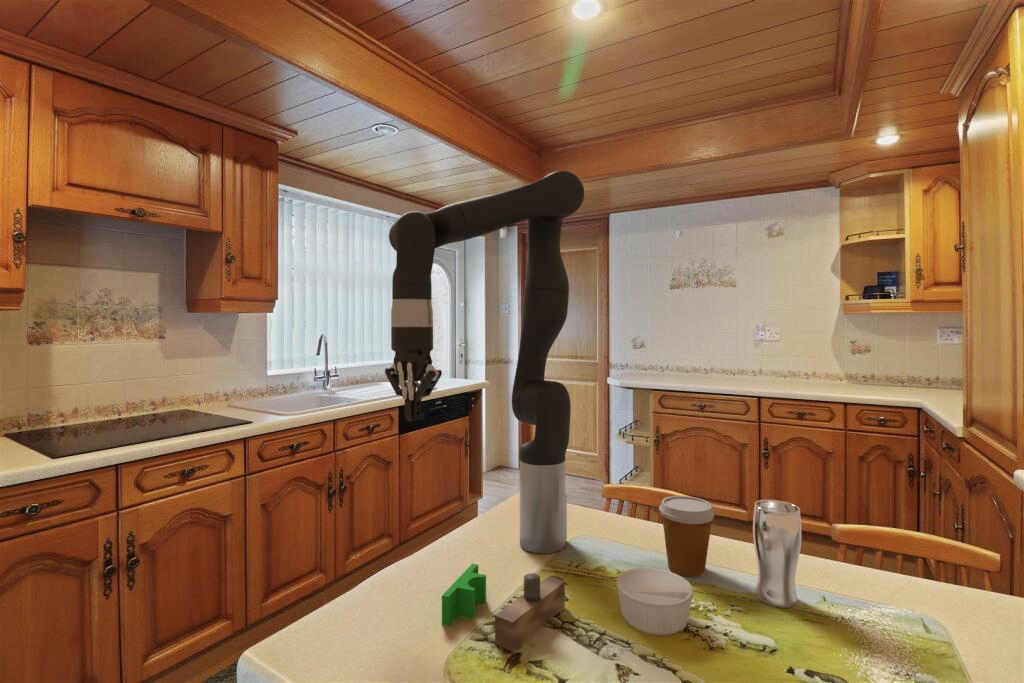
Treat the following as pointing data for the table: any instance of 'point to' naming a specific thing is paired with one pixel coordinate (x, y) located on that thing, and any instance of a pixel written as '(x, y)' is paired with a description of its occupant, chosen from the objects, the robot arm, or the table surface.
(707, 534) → the disposable coffee cup
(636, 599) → the ramekin
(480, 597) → the pipe clamp
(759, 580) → the beer glass
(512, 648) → the bar
